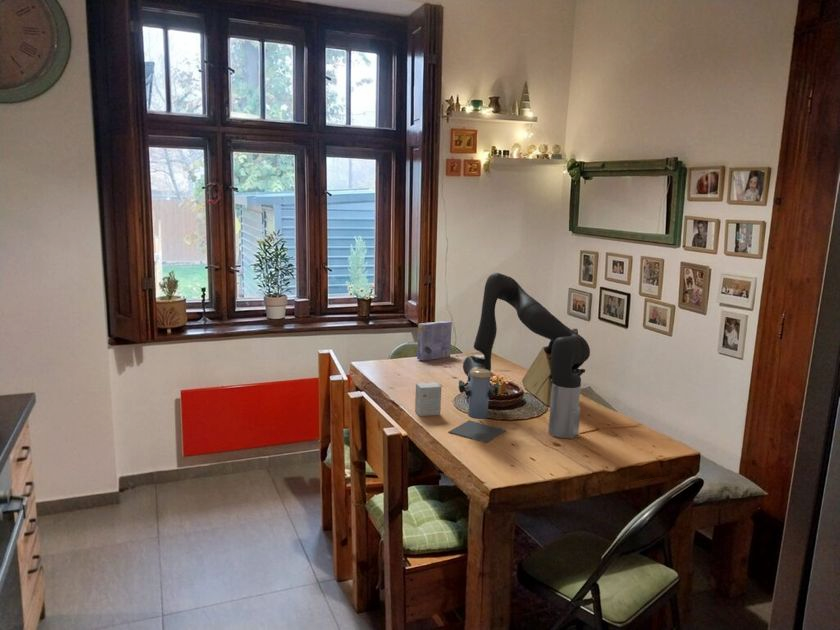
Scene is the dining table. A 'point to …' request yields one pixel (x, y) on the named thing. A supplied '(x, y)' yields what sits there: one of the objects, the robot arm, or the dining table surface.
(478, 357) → the die
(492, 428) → the mat
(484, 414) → the jar
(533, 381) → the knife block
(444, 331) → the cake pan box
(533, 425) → the dining table surface
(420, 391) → the small box
